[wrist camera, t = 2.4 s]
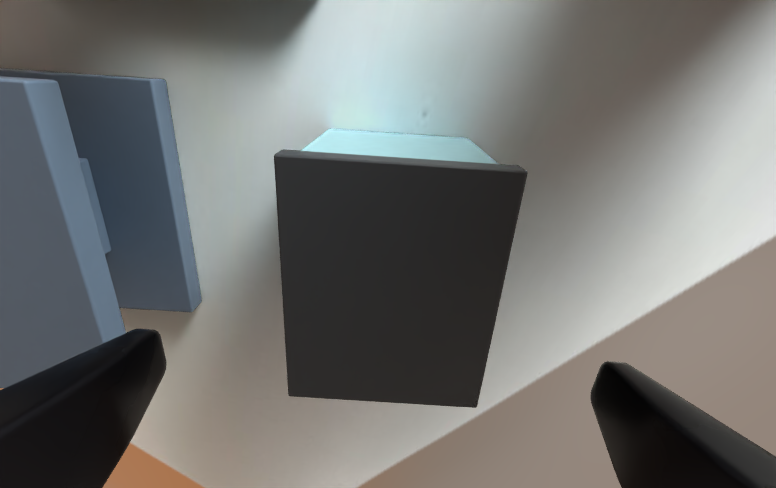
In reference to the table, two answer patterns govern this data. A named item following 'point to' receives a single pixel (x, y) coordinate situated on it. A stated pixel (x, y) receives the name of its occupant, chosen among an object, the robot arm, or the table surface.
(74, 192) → the blue-grey square pedestal
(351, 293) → the container
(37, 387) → the robot arm
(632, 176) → the table surface
